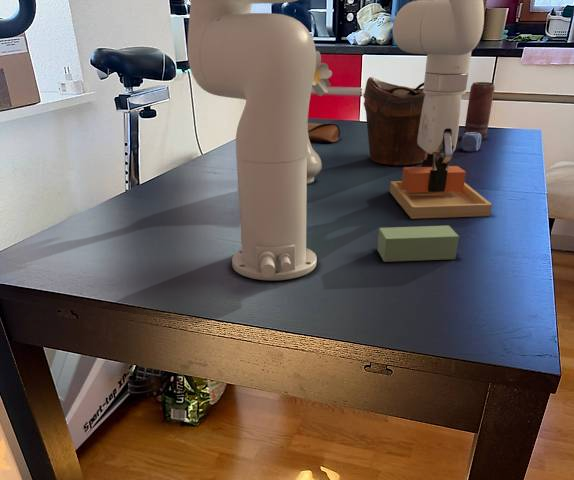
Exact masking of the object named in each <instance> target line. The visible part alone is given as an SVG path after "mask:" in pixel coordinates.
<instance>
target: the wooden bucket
mask: <svg viewBox="0 0 574 480" xmlns="http://www.w3.org/2000/svg"><path fill="white" fill-rule="evenodd" d="M423 88H424V82H422V83H420V84H419V85H418V86H416V87H415V88H414V87H408V86H403V85H399V84H392V83H389V82H386V81H382V80H379V79H378V78H375V77H374V76H373V77H372V76H370V77H368V78H367V80H366V83H365V88H364V92H363V99H364V100H363V101H364V102H363V107H364V110H365V118H366V128H367V130H366V131H367V138H368V141H367V142H368V150H369V158H370V160H371V161H373V162H374V163H378V164H381V165H387V166H393V167H394V166H396V167H400V166H402V167H405V166H413V165H419V164H422V163H423V162H422V158H423V153H424V151H423V149H422V148H421V147H420V146H419V145H418V143H417V139H418V132H419V125H420V118H421V112H422V106H423V101H424V97H425V93H423Z"/></svg>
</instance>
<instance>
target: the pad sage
mask: <svg viewBox="0 0 574 480" xmlns="http://www.w3.org/2000/svg"><path fill="white" fill-rule="evenodd" d="M377 237H378V238H377V252H378V254H379V256H380V257H381V259H382V261H383V262H384V263H388V262H389V263H390V262H392V263H393V262H415V261H417V262H418V261H440V260H441V261H442V260H444V261H445V260H456V259H457V258H456V257H457V251H458V245H459V239H460V235H458V234H457V232H455V230H454V229H453V228H452V227H451V226H450V225H425V226H424V225H422V226H420V225H419V226H394V227H393V226H392V227H378V235H377Z"/></svg>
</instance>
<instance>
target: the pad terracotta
mask: <svg viewBox="0 0 574 480" xmlns="http://www.w3.org/2000/svg"><path fill="white" fill-rule="evenodd" d="M430 170H432V167H422V166H406V167H405V166H403V168H402V176H401V181H402V187H403V188H404V189H405V190H406V191H407V192H408V193H413V192H429V191H428V185H429V177H430ZM466 176H467V171H466V170H464V169H463V168H461V167H460V166H458V165H449V168H448V172H447V179H446V186H445V191H443V192H449V191H463V189H464V183H466V182H465V181H466Z"/></svg>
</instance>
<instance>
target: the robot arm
mask: <svg viewBox="0 0 574 480" xmlns="http://www.w3.org/2000/svg"><path fill="white" fill-rule="evenodd" d="M297 1H299V0H190V3H189V15H188V16H189V17H188V31H187V58H188V59H187V60H188V65H189V69H190V72H191V75H192V77H193V79H194V81H195V83H196V84H197V85H198V86H199V87H200V89H202V90H203V91H205V92H206V93H208V94H211V95H213V96H217V97H224V98H231V99H238V100H243V101H245V105H244V106H243V107H244V108H243V110H242V113H241V116H240V118H239V121H238V124H237V126H236V127H237V128H236V133H235V156H236V173H237V191H238V207H239V226H240V240H241V241H240V244H241V249H240V250H237V252H235V253H234V254H233V256H232V258H231V262H232V263H231V265H232V269H233V270H234V272H236V273H238V274H239V275H241V276H243V277H246V278H249V279H253V280H259V281H273V282H274V281H275V282H276V281H287V280H292V279H297V278H301V277H303V276H306V275H307V274H309V273H311V272H312V271H314V269H315V268H316V267H317V262H318V261H317V260H318V259H317V255H316V253H315V252H314V251H313V250H311V249H310V248H308V247H307V191H308V190H307V187H308V186H307V185H308V184H307V124H308V123H309V110H310V101H311V95H312V89H313V87H312V85H313V80H314V74H315V67H316V52H317V49H316V45H315V41H314V38H313V37H312V36H313V35H312V34H311V32H310V31H309V29H308V28H307V27H306V26H305V25H304V24H303V23H302V22H301V21H300V20H298V19H296V18H294V17H293V16H290V15H286V14H282V13H273V12H271V13H270V12H269V13H268V12H252V6H253V5H256V4H284V3H293V2H297ZM484 5H485V4H484V0H413V1H410V2H407V3H405V4H404V5H403V6H402V7H401V8H400V9H399V10H398V11H397V13H396V15H395V16H394V20H393V24H392V37H393V40H394V42H395V44H396V46H397V47H398V48H399V49H400V50H401V51H403V52H405V53H408V54H415V55H426V61H425V62H426V63H425V70H424V71H425V72H424V80H423V83H424V86H423V87H422V88H423V93H425V97H424V101H423V106H422V112H421V118H420V125H419V132H418V139H417V143H418V145H419V146H420V147H421V148H422V149H423V151H424V153H423V158H422V162H421V167H432V170H430V177H429V185H428V191H429V192H443V191H445V186H446V179H447V172H448V168H449V166H450V162H451V160H452V158H453V153H454V152H455V151H456V147H457V142H458V137H459V127H460V121H461V120H460V118H461V108H462V95H466V93H467V88H468V87H467V85H468V81H469V80H468V79H469V72H470V64H471V58H472V52H473V50H475V48H476V47H477V46H478V44H479V43H480V41H481V38H482V35H483V31H484V25H485V7H484ZM441 150H442V151H441ZM440 151H441V152H440Z"/></svg>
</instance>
